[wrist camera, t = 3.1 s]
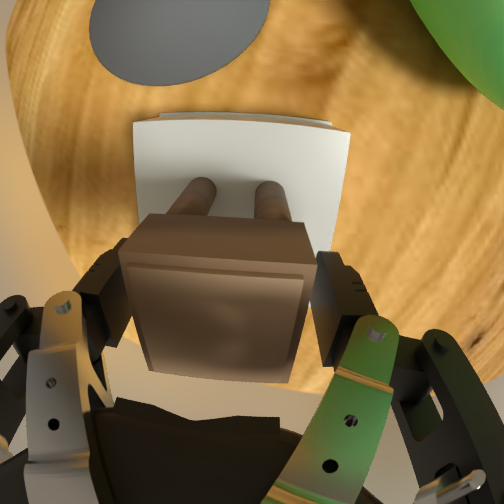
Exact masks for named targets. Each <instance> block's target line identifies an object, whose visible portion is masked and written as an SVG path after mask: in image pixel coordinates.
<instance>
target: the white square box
mask: <svg viewBox="0 0 504 504" xmlns="http://www.w3.org/2000/svg"><path fill="white" fill-rule="evenodd" d="M350 134H351V133H349V132H347V131H344V130H341V129H339V128H336V127H333V126H332V122H329V121H322V120H315V119H307V118H299V117H290V116H281V115H269V114H255V113H236V112H172V113H159V117H156V118H151V119H146V120H141V121H137V122H133V147H134V168H135V183H136V195H137V206H138V216H139V225H140V224H141V222H142V221H143V220H144V219H145V218H146V217H147V216H148V214H149V213H156V214H166V212H167V211H168V210H169V208H170V207H171V206H172V205H173V203H174V202H175V201H176V199H177V198H178V197H179V196H180V194H181V193H182V192H183V191H184V189H185V188H186V187H187V186H188V184H189V183H190V182H191V181H192V180H193V179H195V178H197V177H206V178H208V179H210V180H211V181H212V182H213V183H214V184H215V186H216V191H217V192H216V197H215V199H214V201H213V203H212V206H211V208H210V210H209V213H208V215H207V216H220V217H237V218H252V219H254V205H255V191H256V189H257V187H258V186H259V185H260V184H261V183H263V182H265V181H275V182H277V183H279V184H280V185H281V186H282V187H283V189H284V191H285V195H286V199H287V202H288V206H289V210H290V214H291V218H292V221H293V222H304V225H305V227H306V230H307V233H308V236H309V239H310V243H311V246H312V249H313V252H314V255H315V258H316V255H317V252H318V251H330V248H331V244H332V239H333V234H334V229H335V224H336V219H337V214H338V209H339V203H340V198H341V192H342V187H343V181H344V175H345V168H346V162H347V155H348V148H349V141H350ZM308 307H311V304H310V301H309V305H308Z"/></svg>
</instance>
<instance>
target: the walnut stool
mask: <svg viewBox="0 0 504 504" xmlns="http://www.w3.org/2000/svg"><path fill="white" fill-rule="evenodd" d="M216 192H217V191H216V186H215V184H214V183H213V182H212V181H211V180H210V179H208V178H206V177H197V178H195V179H193V180H192V181H191V182H190V183H189V184H188V186H187V187H186V188H185V189H184V191H183V192H182V193H181V194H180V196H179V197H178V198H177V199H176V201H175V202H174V203H173V205H172V206H171V207H170V208H169V210H168V211H167V212H166V214H156V213H149V214H148V216H147V217H146V218H145V219H144V220H143V221H142V222H141V224H140V225H139V226H138V227H137V228H136V230H135V231H134V232H133V233H132V234H131V235H130V237H129V238H128V239H127V240H126V242H125V243H124V244H123V245H122V246H121V248H120V249H119V250H118V255H119V260H120V265H121V270H122V275H123V279H124V284H125V288H126V292H127V296H128V300H129V304H130V308H131V312H132V316H133V320H134V323H135V327H136V330H137V334H138V337H139V341H140V344H141V347H142V350H143V353H144V357H145V359H146V363H147V366H148V369H149V371H154V372H160V373H167V374H174V375H180V376H188V377H196V378H205V379H215V380H226V381H241V382H257V383H288V381H289V377H290V374H291V370H292V367H293V363H294V360H295V356H296V353H297V349H298V345H299V341H300V337H301V334H302V330H303V326H304V322H305V318H306V314H307V310H308V305H309V301H310V297H311V293H312V288H313V284H314V279H315V275H316V270H317V266H318V264H317V261H316V258H315V255H314V252H313V249H312V246H311V243H310V239H309V236H308V233H307V230H306V227H305V225H304V222H293V221H292V218H291V214H290V210H289V206H288V202H287V199H286V195H285V191H284V189H283V187H282V186H281V185H280V184H279V183H277V182H275V181H265V182H263V183H261V184H260V185H259V186H258V187H257V189H256V191H255V205H254V219H252V218H237V217H220V216H207V215H208V213H209V210H210V208H211V206H212V203H213V201H214V199H215V197H216Z"/></svg>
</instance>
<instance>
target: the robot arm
mask: <svg viewBox="0 0 504 504" xmlns="http://www.w3.org/2000/svg"><path fill="white" fill-rule="evenodd" d="M127 239H128V238H122V239H121V240H120V241H119V242H118V243H117V245H116V246H115V247H114V248H113V249H110V250H108V251H107V252H105V253H104V254H102V255H100V257H99V258H98V259H97V260H96V261H95V262H94V265H92V266H91V267H90V269H89V271H87V272H86V273H85V275H84V276H83V277H82V278H81V280H80V281H79V282H78V284H77V285H76V286H75V287H74V289H73V290H72V291H63V292H60V293H57V294H55V295H53V296H52V297H51V298H49V300H48V301H47V302H46V304H45V306H44V307H33V308H30V307H29V305H28V303H27V301H26V298H25V297H24V296H21V295H14V296H11V297H8V298H7V299H5V300H4V301H3V302H1V303H0V360H1V359H2V358H3V356H4V355H5V353H6V352H7V351H8V349H9V348H10V347H11V345H13V347H14V348H15V350H16V351H17V353H18V354H19V357H18V359H17V360H16V361H15V363H14V364H13V366H12V367H11V369H10V370H9V372H8V373H7V375H6V376H5V378H4V379H3V381H1V380H0V504H383V503H382V502H381V501H380V500H378V499H377V498H376V497H375V496H374V495H372V494H371V493H370V492H369V491H368V490H367V489H365V488H364V487H363V483H364V481H365V479H366V476H367V474H368V471H369V469H370V466H371V464H372V461H373V458H374V456H375V453H376V449H377V447H378V444H379V441H380V438H381V435H382V432H383V429H384V426H385V422H386V419H387V415H388V412H389V408H390V405H391V406H392V409H393V412H394V414H395V417H396V419H397V422H398V425H399V428H400V431H401V433H402V436H403V439H404V442H405V445H406V448H407V450H408V453H409V456H410V459H411V462H412V465H413V469H414V472H415V475H416V478H417V481H418V485H419V488H420V490H419V491H418V493H417V494H416V497H415V500H414V503H413V504H504V424H503V422H502V420H501V418H500V416H499V414H498V412H497V410H496V408H495V406H494V404H493V402H492V401H491V399H490V397H489V395H488V393H487V391H486V390H485V388H484V386H483V384H482V382H481V381H480V379H479V377H478V376H477V374H476V372H475V370H474V369H473V367H472V365H471V364H470V362H469V361H468V359H467V357H466V356H465V354H464V353H463V351H462V349H461V348H460V346H459V345H458V343H457V342H456V340H455V339H454V338H453V337H452V336H451V335H450V334H448V333H447V332H445V331H442V330H439V329H431V330H428V331H427V332H425V334H424V335H423V337H422V339H421V340H418V339H414V338H409V337H404V336H401V335H399V332H398V329H397V328H396V326H395V325H394V324H393V323H392V322H391V321H389V320H388V319H386V318H384V317H381V316H379V315H378V313H377V310H376V308H375V306H374V304H373V302H372V300H371V297H370V295H369V293H368V292H367V289H366V287H365V285H364V284H363V281H362V279H361V277H360V275H359V273H358V272H357V271H355V270H354V269H353V268H352V267H351V266H346V265H344V264H343V261H342V259H341V257H340V255H339V253H338V252H330V251H318V252H317V255H316V261H317V264H318V266H317V270H316V275H315V279H314V284H313V288H312V293H311V297H310V304H311V309H312V314H313V319H314V324H315V329H316V334H317V339H318V344H319V349H320V354H321V360H322V365H323V367H334V372H335V373H334V375H333V378H332V380H331V382H330V384H329V386H328V388H327V390H326V392H325V394H324V396H323V398H322V400H321V402H320V404H319V406H318V408H317V410H316V412H315V414H314V416H313V418H312V420H311V422H310V423H309V425H308V427H307V429H306V430H305V433H304V434H303V435H301V434H298V433H296V432H293V431H290V430H287V429H283V428H280V418H279V417H252V416H232V417H225V418H217V419H209V420H199V421H193V420H188V419H186V418H183V417H181V416H178V415H176V414H173V413H171V412H168V411H166V410H163V409H161V408H159V407H157V406H154V405H150V404H146V403H141V402H137V401H132V400H127V399H123V398H119V397H117V398H116V401H115V404H114V402H113V398H112V394H111V390H110V385H109V380H108V374H107V368H106V364H105V363H106V362H105V357H104V354H103V352H102V351H103V349H104V347H105V346H110V347H115V348H117V346H118V343H119V342H120V339H121V337H122V335H123V333H124V331H125V329H126V327H127V325H128V323H129V321H130V318H131V316H132V312H131V308H130V304H129V300H128V296H127V292H126V288H125V284H124V279H123V275H122V270H121V265H120V260H119V255H118V250H119V249H120V248H121V246H122V245H123V244H124V243H125V242H126V240H127ZM432 390H434V392H435V394H436V396H437V398H438V400H439V402H440V404H441V407H442V409H443V413H444V414H443V421H442V419H441V417H440V415H439V413H438V411H437V409H436V406H435V404H434V402H433V400H432V397H431V395H430V392H431V391H432ZM25 414H26V427H27V441H28V448H26V449H25V450H23V451H21V452H20V453H18V454H16V455H15V456H13V455H12V453H11V452H9V451H8V447H9V445H10V443H11V441H12V439H13V437H14V435H15V433H16V431H17V429H18V427H19V425H20V423H21V421H22V419H23V417H24V416H25Z"/></svg>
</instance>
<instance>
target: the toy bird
mask: <svg viewBox="0 0 504 504" xmlns="http://www.w3.org/2000/svg"><path fill="white" fill-rule="evenodd" d="M410 2H411V4H412V6H413V7H414V9H415V11H416V12H417V14H418V16H419V17H420V19H421V20H422V22H423V23H424V25H425V26H426V28H427V29H428V31H429V32H430V34H431V35H432V37H433V38H434V40H435V41H436V42H437V44H438V45H439V46H440V48H441V49H442V51H443V52H444V53H445V54H446V56H447V57H448V58H449V60H450V61H451V62H452V63H453V64H454V66H455V67H456V68H457V69H458V70H459V71H460V72H461V74H462V75H463V76H464V77H465V78H466V79H467V80H468V81H469V82H470V83H471V84H472V85H473V86H474V87H475V88H476V89H477V90H478V91H480V92H481V93H482V94H483V95H484V96H485V97H487V98H488V99H489V100H490V101H492V102H493V103H494V104H496V105H497V106H498V107H500V108H501V109H503V110H504V0H410Z"/></svg>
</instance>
